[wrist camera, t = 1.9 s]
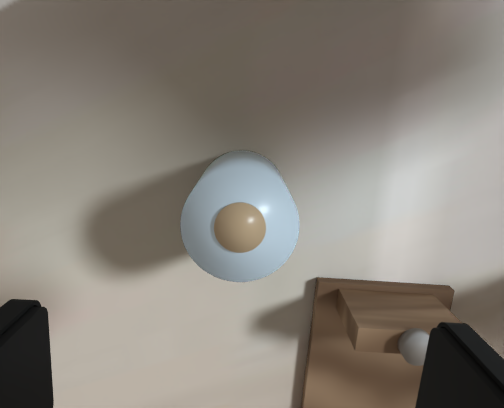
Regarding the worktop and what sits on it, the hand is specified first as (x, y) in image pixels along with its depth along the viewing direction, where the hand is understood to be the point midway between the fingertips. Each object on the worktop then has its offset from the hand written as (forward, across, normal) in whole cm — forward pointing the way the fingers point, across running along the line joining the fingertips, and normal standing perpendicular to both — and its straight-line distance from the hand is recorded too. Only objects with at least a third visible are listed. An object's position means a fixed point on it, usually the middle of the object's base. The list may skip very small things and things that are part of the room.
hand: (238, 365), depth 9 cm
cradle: (+18, -11, +13) cm, 25 cm away
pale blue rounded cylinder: (+18, 0, 0) cm, 19 cm away
